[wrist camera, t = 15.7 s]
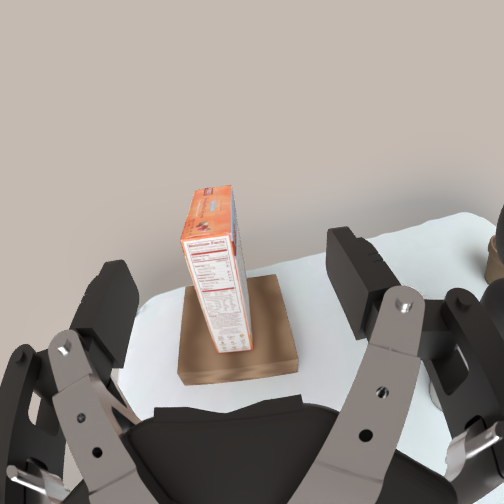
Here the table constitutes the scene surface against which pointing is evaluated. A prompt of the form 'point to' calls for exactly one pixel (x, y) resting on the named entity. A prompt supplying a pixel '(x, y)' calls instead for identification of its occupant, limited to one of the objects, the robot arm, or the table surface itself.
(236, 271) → the cracker box
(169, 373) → the table surface
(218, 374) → the walnut base
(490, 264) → the flower pot
